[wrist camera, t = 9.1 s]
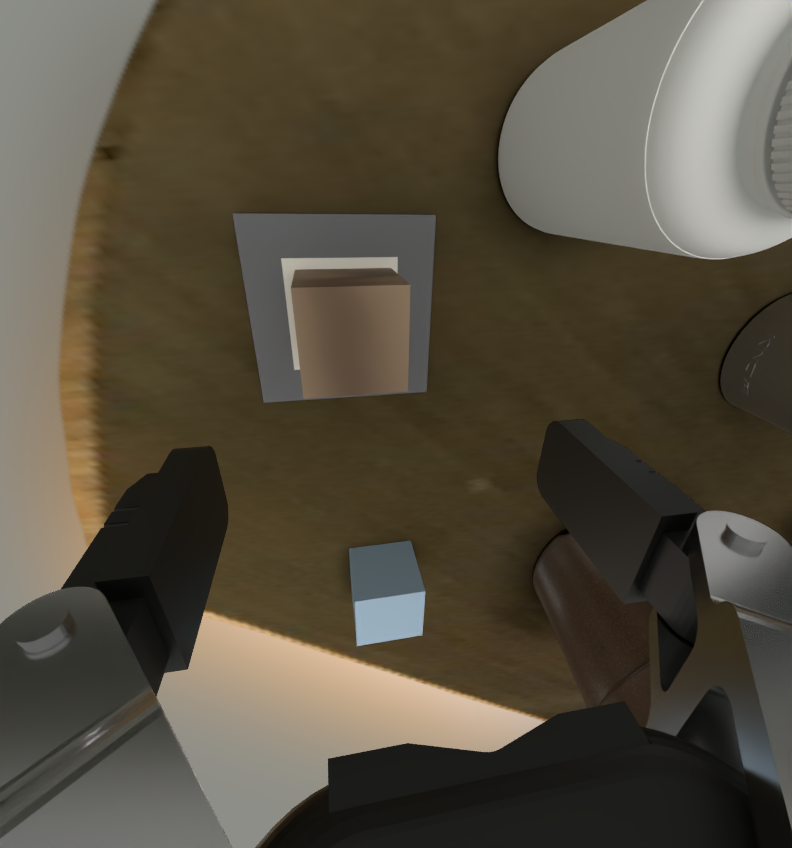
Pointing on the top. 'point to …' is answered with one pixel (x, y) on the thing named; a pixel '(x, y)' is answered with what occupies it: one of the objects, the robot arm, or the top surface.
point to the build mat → (328, 249)
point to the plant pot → (596, 628)
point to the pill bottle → (661, 131)
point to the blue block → (386, 592)
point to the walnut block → (351, 331)
